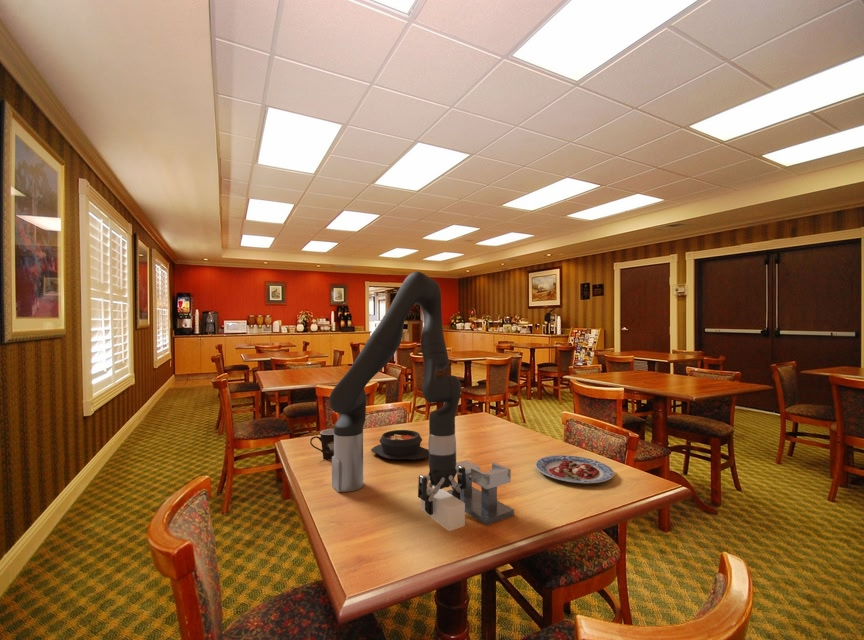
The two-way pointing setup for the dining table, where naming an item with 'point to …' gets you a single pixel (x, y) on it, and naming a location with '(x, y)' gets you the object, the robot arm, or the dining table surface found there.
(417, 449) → the casserole
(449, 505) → the white rectangular block
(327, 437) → the coffee mug
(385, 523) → the dining table surface
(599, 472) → the ceramic plate
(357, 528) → the dining table surface
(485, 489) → the stand
